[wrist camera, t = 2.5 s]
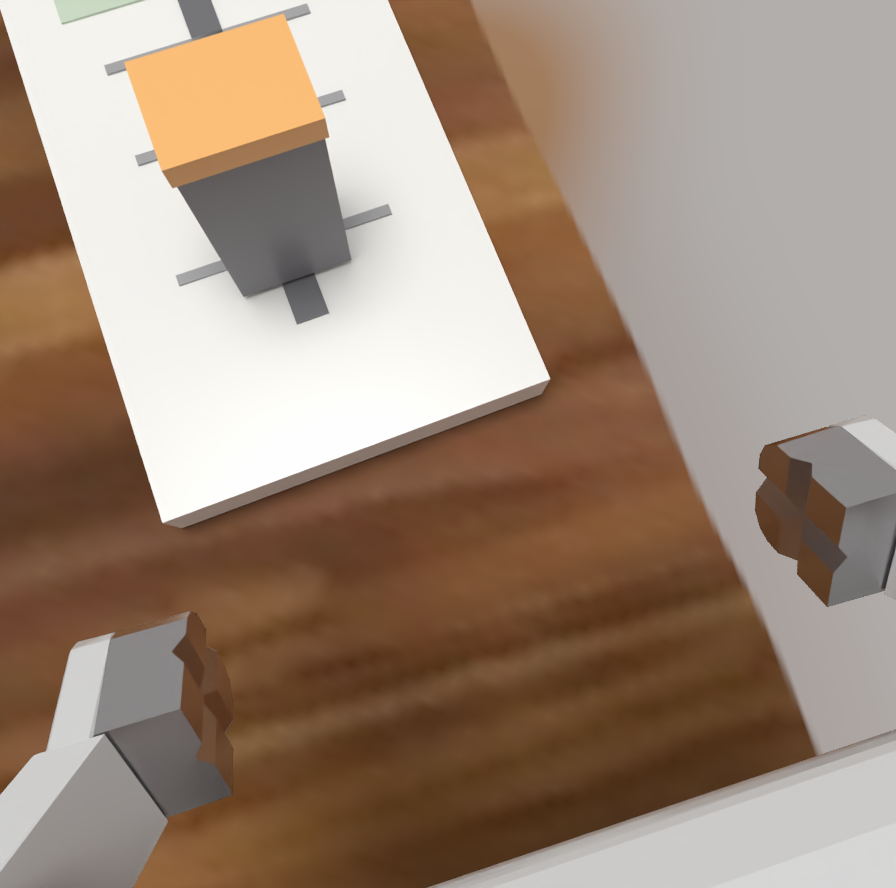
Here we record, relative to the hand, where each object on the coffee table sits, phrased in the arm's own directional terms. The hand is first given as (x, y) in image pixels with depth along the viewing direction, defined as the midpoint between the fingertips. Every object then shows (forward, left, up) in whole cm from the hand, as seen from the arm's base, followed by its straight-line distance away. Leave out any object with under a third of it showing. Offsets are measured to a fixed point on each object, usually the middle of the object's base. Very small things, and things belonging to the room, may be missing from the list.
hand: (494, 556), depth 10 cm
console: (+19, +1, -16) cm, 25 cm away
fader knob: (+13, +1, -14) cm, 19 cm away
